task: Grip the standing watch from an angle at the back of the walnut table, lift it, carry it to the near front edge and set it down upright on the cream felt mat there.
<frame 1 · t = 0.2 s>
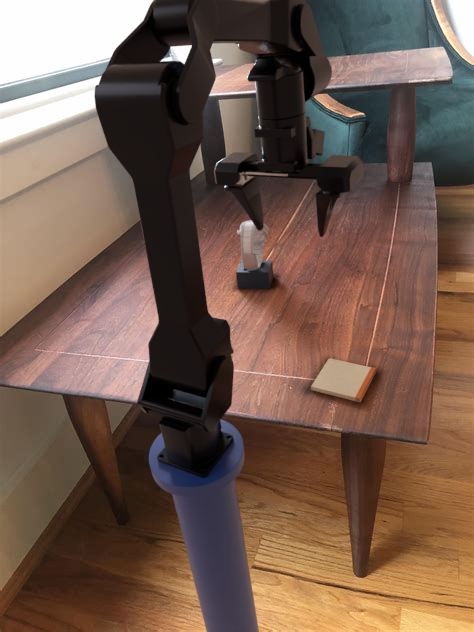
hand: (290, 232, 75), 15 cm above the table, tool pointing down, fingers open, 9 cm apart
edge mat: (344, 380, 70), on the table
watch: (255, 283, 95), on the table
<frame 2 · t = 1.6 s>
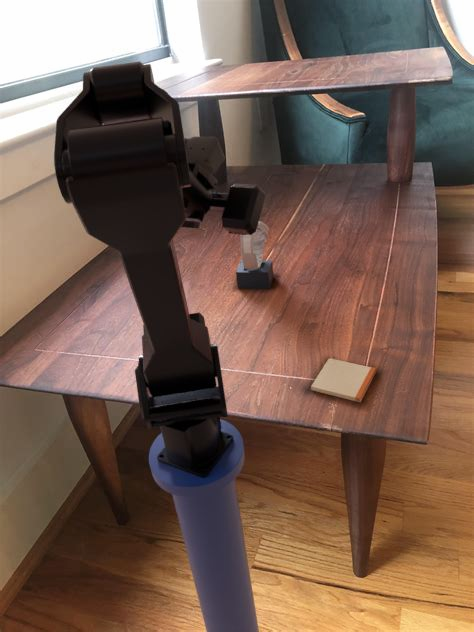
hand: (224, 228, 82), 13 cm above the table, tool tilted 45°, fingers open, 9 cm apart
nothing on the table moved.
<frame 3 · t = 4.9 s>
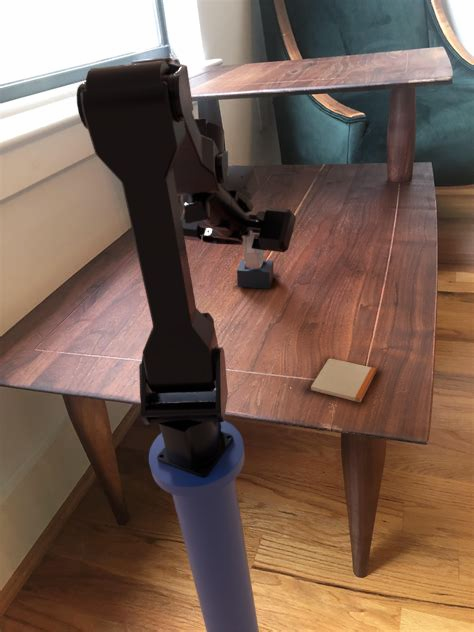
hand: (255, 243, 92), 7 cm above the table, tool tilted 45°, fingers closed on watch, 5 cm apart
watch: (255, 282, 95), on the table, touching gripper
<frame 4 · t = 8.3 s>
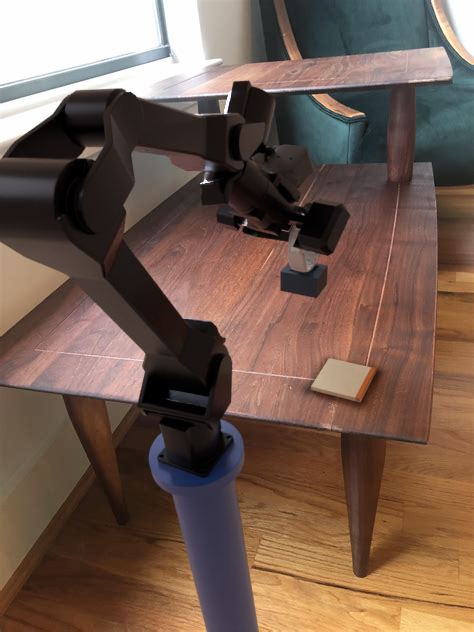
hand: (307, 242, 77), 12 cm above the table, tool tilted 45°, fingers closed on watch, 5 cm apart
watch: (303, 288, 79), point 6 cm above the table, touching gripper
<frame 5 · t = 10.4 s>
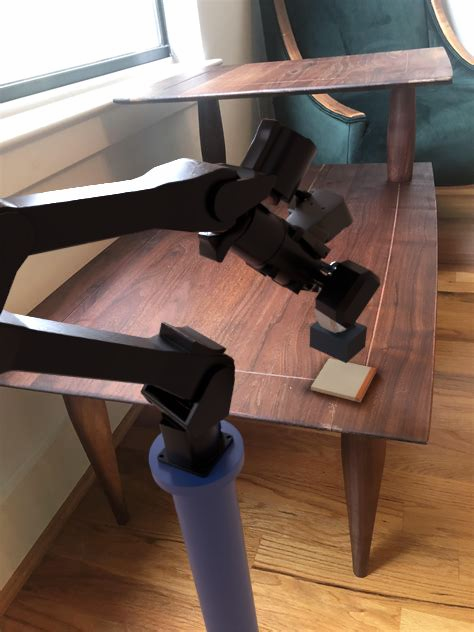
hand: (345, 298, 67), 10 cm above the table, tool tilted 45°, fingers closed on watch, 5 cm apart
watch: (337, 347, 70), point 4 cm above the table, touching gripper
when the fingers open (7 cm above the table, at t = 12.1 s): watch stays where it is, resting on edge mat.
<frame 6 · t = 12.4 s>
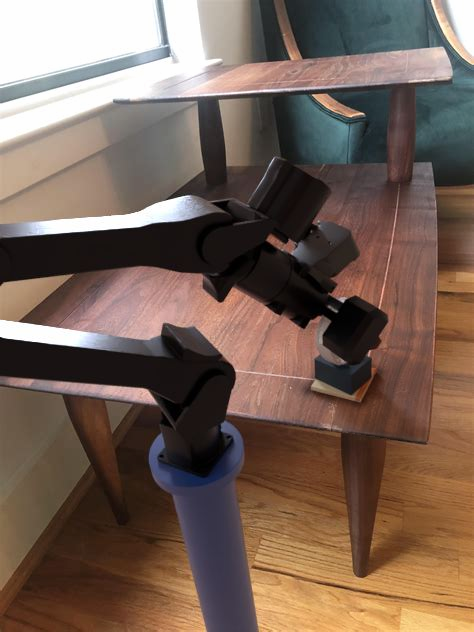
hand: (352, 327, 66), 8 cm above the table, tool tilted 45°, fingers open, 8 cm apart
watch: (343, 378, 69), resting on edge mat
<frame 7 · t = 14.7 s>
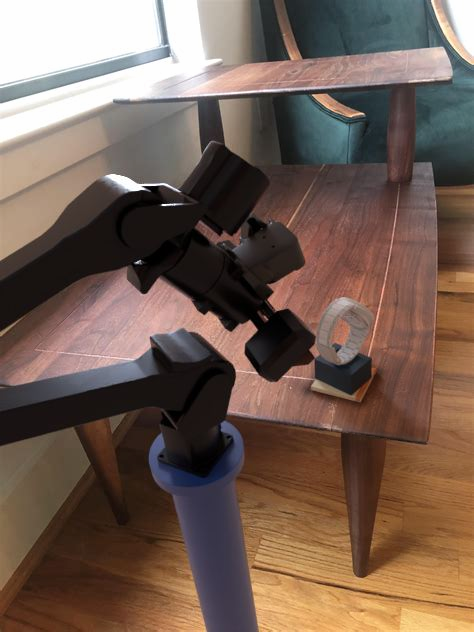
hand: (290, 335, 63), 10 cm above the table, tool tilted 40°, fingers open, 9 cm apart
nothing on the table moved.
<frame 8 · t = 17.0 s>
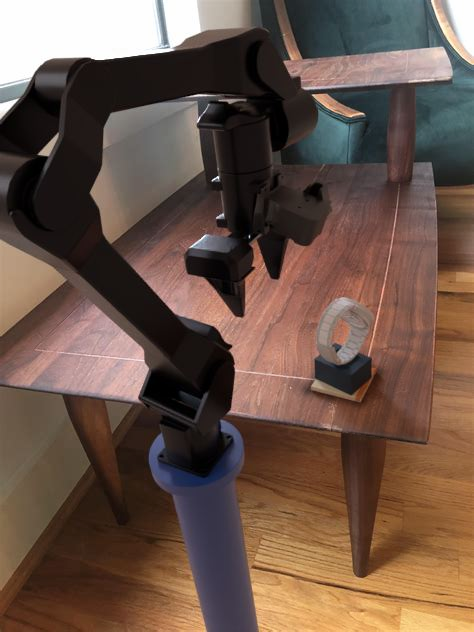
hand: (258, 296, 64), 13 cm above the table, tool pointing down, fingers open, 9 cm apart
nothing on the table moved.
at the end: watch inside the target area on the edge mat (0.1 cm from its centre), point 0.4 cm above the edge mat's base; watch tilted 0°; the gripper is holding nothing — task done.
